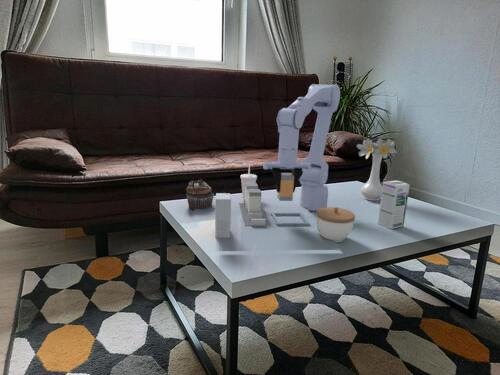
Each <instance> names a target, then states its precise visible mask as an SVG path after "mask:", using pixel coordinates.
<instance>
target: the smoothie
mask: <svg viewBox="0 0 500 375" xmlns="http://www.w3.org/2000/svg"><path fill="white" fill-rule="evenodd" d="M247 172H248V173H243V174H241V175H240V179H241V192H242V193H241V194H242V199H243V200H244V198H245V185H246V183H257V182H256V181H257V179H258V175H256V174H254V173H253V174H252V173H250V172H251V163H248V170H247Z"/></svg>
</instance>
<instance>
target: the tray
mask: <svg viewBox="0 0 500 375" xmlns="http://www.w3.org/2000/svg"><path fill="white" fill-rule="evenodd" d="M277 216H299V218H301V220H302V222H280V221H279V220H278V218H277ZM271 217H272V219H273V222H274V223H275V225H276V226H277V227H283V226H285V227H286V226H287V227H291V226H292V227H296V226H297V227H302V226H303V227H304V226H305V227H306V226H307V227H308V226H309V227H310V222H309V221H308V220H307V218H306V217H305V215H304V214H303V213H302V212H271Z"/></svg>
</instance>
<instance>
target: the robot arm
mask: <svg viewBox="0 0 500 375" xmlns="http://www.w3.org/2000/svg"><path fill="white" fill-rule="evenodd" d="M340 98H341V88H340V86H339V85H338V84H336V83H335V84H315V83H312V84H311V85H310V86H309V87H308V91H307V94H306V95H305V96H299V97H297V99H296V100H295V101H294V102H292V103H291V104H289V106H288V107H282V108H281V109H280V110H279V111H278V112H277V117H276V123H277V133H279V136H278V137H279V138H278V140H279V142H278V153H277V154H278V155H277V157H278V158H277V161H263V163H262V166H263V167H262V168H263V170H271V173H272V175H273V178H274V182H275V186H276V187H275V188H276V189H275V190H276V193H278V192H280V180H281V173H282V172H281V170H291V173H292V174H293V175H294V186H293V194H294V193H295V191H296V187H297V185H298V182H299V184H300V185H301V188H300V199H299V206H300V207H301V208H303V209H307V210H308V211H316V212H317V210H318V209H320V208H325V207H327V206H328V197H329V188H328V186H327V184H326V183H327V181H328V178H329V164H328V163H327V161H325V160H324V157H323V156H324V152H325V149H326V148H325V147H326V143H327V139H328V134H329V130H330V125H331V120H332V116H333V113H335V112H337V110H338V107H339V103H340ZM312 110H314V111H315V112H316V113H317V116H316V117H317V118H316V121H315V126H314V131H313V135H312V138H311V139H312V140H311V144H310V149H309V153H308V156H307V157H305V158H304V159H302V160H301V161H298V148H299V136H300V129H301V128H302V127H303V124H304V121H305V119H306V117H307V116H308V115H309V114H310V113H311V111H312Z"/></svg>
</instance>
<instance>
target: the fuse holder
mask: <svg viewBox="0 0 500 375" xmlns="http://www.w3.org/2000/svg"><path fill="white" fill-rule="evenodd" d="M238 205H239V209H240V212H241V216H242V220H243V224H244V227H272V225H271V223H270V221H269V219H268V216H267V214H266V212H265V210H264V208H263V205H262V204H261V210H248V213H247V203H246V206H245V198H244V199H243V202H239V203H238Z"/></svg>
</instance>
